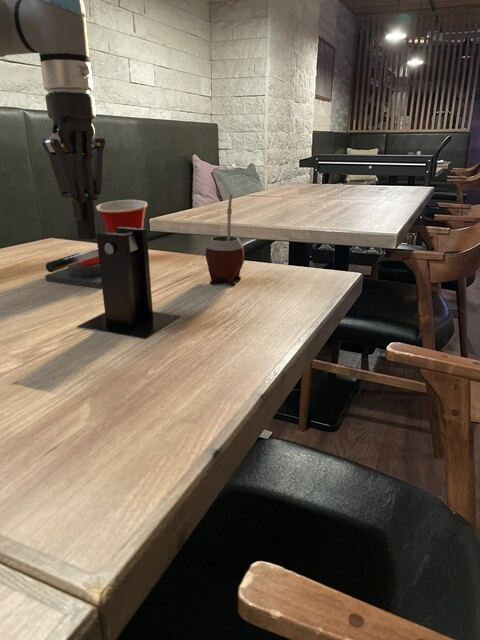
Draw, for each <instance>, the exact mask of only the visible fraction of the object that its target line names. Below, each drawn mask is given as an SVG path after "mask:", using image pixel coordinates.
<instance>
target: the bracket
mask: <svg viewBox="0 0 480 640" xmlns="http://www.w3.org/2000/svg"><path fill="white" fill-rule="evenodd" d="M115 229H116V233H109V232H106V231H99V232H96V245H97V249H98V254H99V263H100V272H101V281H102V288H101V289H102V299H103V306H104V307H103V308H104V312H102V313H101V314H99V315H96V316H95V317H93V318H91V319H89V320H87V321H85V322H83V323H81V324H79V325H77V326H76V327H77V328H82V329H86V330H92V331H97V332H103V333H108V334H115V335H119V336H120V335H121V336H126V337H130V338H137V339H142V340H147V339H148V338H149V337H151V336H152V335H153V334H156V333H158V332H159V331H160V330H162V329H163V328H165V327H166V326H168V325H170V324H171V323H173V322H174V321H176V320H177V319H179V318H180V317H181V315H177V314H170V313H164V312H157V311H153V297H152V285H151V271H150V270H151V269H150V257H149V243H148V231H147V228H143V229H142V228H129V227H117V228H115ZM130 232H133V234H134V237H135V239H136V242H137V245H138V248H139V249H138V250H135V251H132V252H130V243H129V234H127V233H130Z"/></svg>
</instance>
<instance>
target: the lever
mask: <svg viewBox="0 0 480 640" xmlns="http://www.w3.org/2000/svg"><path fill="white" fill-rule="evenodd" d="M127 234H129V243H130V252H132V251H135V250H138V249H139V248H138V245H137V242H136V239H135V237H134V234H133V232H130V233H127ZM81 253H82V254H81ZM81 253H73V254H71V255H67V256H63V257H61V258H57V259H55V260H51V261H48V262H46V264H45V270H46V271H47V272H48V273H54V272H57V271H60V270H63V269H66V268H68V267H69V266H72V265H75V264H78V263H81V262H82V261H84V260H87V259H91V258H94V257H97V256H99V254H98V248H95V249H92V250H88V251H85V252H81Z"/></svg>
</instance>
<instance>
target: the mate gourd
mask: <svg viewBox="0 0 480 640" xmlns="http://www.w3.org/2000/svg"><path fill="white" fill-rule="evenodd" d="M232 201H233V195H232V194H230V195H228V203H227V209H226V212H227V213H226V215H227V229H226V233H227V234H226V235H218V236H213V237H211V238H210V239H209V240H208V242H207V243H206V248H205V260H206V264H207V268H208V273H209V276H210V281H209V284H210V285H217V284H222V283H223V284H227V285H229V286H231V287H234V286H236V282H235V281H241V280H242V279H241V278H242V277H241V276H240V273H241V270H242V268H243V265H244V263H245V256H246V254H245V248H244V244H243V241H242V240H241V239H240V237H237V236H233V235H231V225H232V224H231V221H232V211H233V210H232Z"/></svg>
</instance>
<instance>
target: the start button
mask: <svg viewBox="0 0 480 640" xmlns="http://www.w3.org/2000/svg"><path fill="white" fill-rule="evenodd" d="M82 253H83V252H81V253H80V254H82ZM98 264H100V263H99V256H97V257H94V258H91V259H87V260H84V261H82V262H81V263H78V264H77V265H79V266H92V265H98Z"/></svg>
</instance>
